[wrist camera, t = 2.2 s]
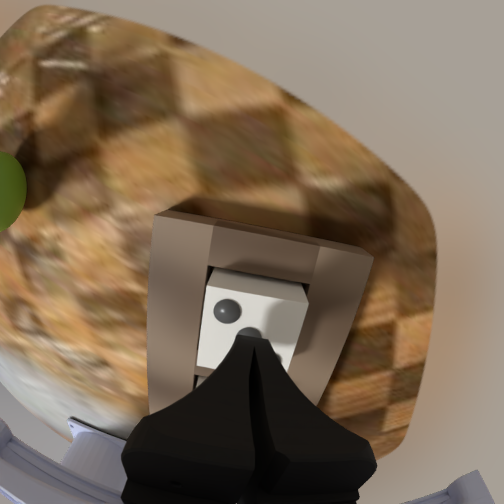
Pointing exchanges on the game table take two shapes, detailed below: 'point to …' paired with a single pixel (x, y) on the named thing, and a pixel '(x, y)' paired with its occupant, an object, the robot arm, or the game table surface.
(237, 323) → the tile three pips
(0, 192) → the snail figurine
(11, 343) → the game table surface
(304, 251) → the key board
